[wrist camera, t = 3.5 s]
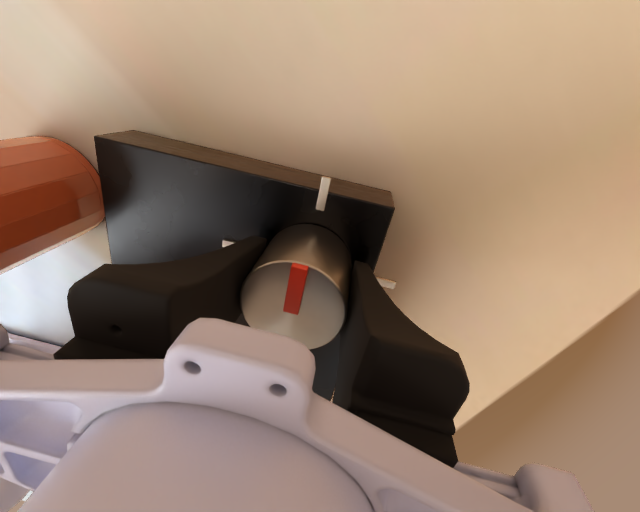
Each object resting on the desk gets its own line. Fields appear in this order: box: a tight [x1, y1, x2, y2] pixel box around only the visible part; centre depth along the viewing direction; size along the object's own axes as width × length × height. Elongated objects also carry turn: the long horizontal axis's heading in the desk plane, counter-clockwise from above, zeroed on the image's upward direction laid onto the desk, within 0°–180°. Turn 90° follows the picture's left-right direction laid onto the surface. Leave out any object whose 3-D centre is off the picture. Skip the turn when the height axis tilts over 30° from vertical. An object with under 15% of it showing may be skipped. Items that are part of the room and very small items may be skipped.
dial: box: [240, 224, 352, 349], centre depth 13 cm, size 4×4×4 cm
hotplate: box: [94, 130, 396, 401], centre depth 18 cm, size 17×14×3 cm
